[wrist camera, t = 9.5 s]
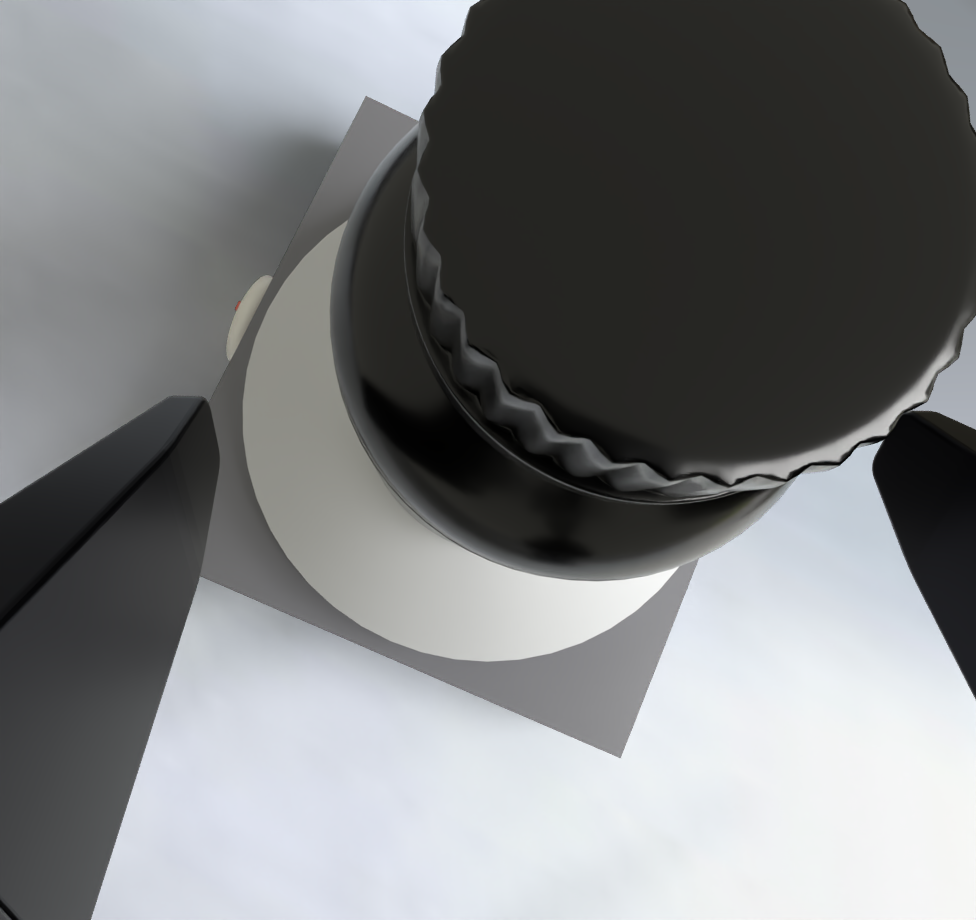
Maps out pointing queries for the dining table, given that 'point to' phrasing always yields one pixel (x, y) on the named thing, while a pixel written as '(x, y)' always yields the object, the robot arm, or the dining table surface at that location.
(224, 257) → the dining table surface
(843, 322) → the supplement bottle
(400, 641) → the kitchen scale
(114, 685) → the robot arm
